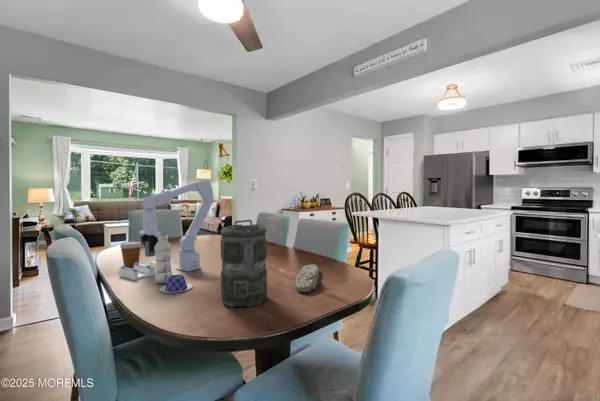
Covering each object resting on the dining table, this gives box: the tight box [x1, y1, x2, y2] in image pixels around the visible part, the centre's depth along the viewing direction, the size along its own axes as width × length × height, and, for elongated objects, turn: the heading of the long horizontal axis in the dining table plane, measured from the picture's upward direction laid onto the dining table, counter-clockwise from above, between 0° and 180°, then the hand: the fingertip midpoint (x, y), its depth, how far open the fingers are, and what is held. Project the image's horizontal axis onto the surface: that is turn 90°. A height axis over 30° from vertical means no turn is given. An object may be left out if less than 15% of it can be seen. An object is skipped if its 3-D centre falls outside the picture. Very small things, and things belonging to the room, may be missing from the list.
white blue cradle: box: [118, 260, 156, 281], centre depth 141 cm, size 12×16×5 cm
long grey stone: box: [294, 263, 320, 293], centre depth 131 cm, size 35×5×10 cm
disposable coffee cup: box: [119, 240, 142, 269], centre depth 155 cm, size 10×10×12 cm
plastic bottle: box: [154, 233, 173, 284], centre depth 127 cm, size 6×7×20 cm
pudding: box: [159, 274, 193, 294], centre depth 120 cm, size 12×12×5 cm
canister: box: [219, 219, 268, 308], centre depth 107 cm, size 16×16×28 cm
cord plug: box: [144, 241, 156, 258], centre depth 143 cm, size 3×3×7 cm
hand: (150, 251), depth 144 cm, fingers closed on cord plug, 3 cm apart
